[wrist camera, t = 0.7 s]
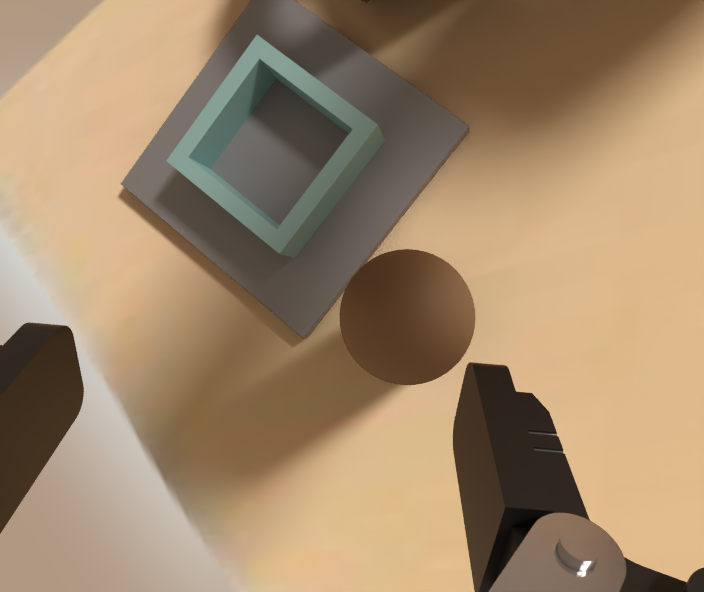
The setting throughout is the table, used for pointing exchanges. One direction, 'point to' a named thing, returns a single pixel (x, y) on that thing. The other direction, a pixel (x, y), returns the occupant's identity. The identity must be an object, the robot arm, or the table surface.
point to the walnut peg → (407, 317)
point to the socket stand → (292, 159)
